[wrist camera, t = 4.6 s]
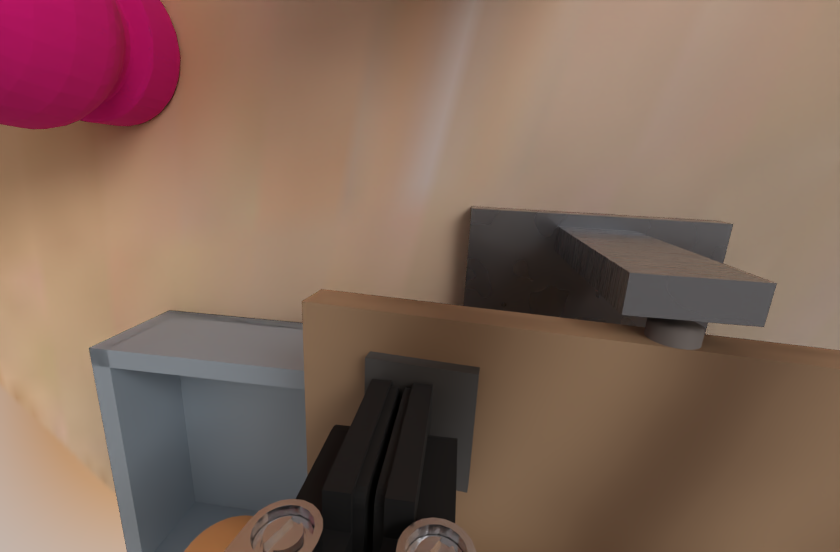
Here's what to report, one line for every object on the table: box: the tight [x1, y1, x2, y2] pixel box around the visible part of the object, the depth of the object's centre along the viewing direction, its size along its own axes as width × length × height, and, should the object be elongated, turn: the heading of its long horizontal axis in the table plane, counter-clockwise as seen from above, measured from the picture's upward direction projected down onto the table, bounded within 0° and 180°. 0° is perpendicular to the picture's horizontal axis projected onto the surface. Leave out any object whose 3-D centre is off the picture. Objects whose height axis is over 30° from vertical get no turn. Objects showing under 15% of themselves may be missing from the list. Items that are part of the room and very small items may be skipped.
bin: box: [89, 310, 307, 552], centre depth 19 cm, size 13×12×4 cm
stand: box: [464, 206, 777, 332], centre depth 15 cm, size 10×18×9 cm, turn 177°
